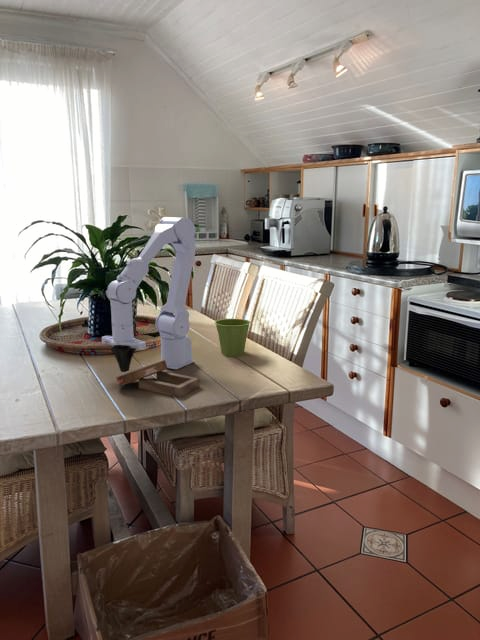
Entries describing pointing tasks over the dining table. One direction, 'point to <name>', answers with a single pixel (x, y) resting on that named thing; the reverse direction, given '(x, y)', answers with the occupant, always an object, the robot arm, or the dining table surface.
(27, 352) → the dining table surface
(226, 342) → the plant pot
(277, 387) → the dining table surface
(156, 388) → the dock
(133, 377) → the tin
